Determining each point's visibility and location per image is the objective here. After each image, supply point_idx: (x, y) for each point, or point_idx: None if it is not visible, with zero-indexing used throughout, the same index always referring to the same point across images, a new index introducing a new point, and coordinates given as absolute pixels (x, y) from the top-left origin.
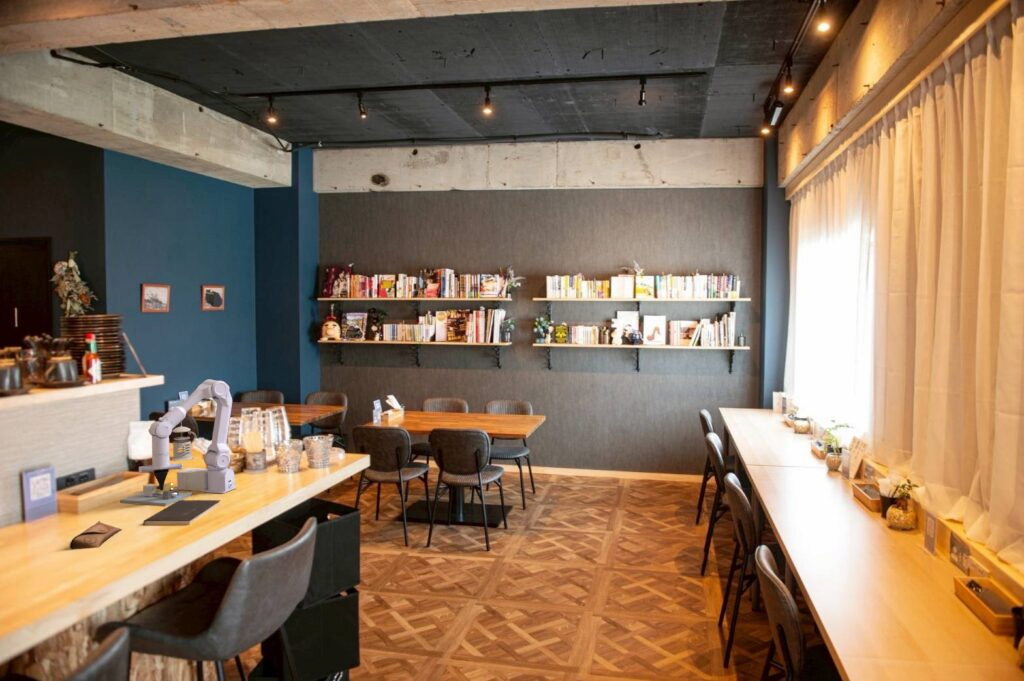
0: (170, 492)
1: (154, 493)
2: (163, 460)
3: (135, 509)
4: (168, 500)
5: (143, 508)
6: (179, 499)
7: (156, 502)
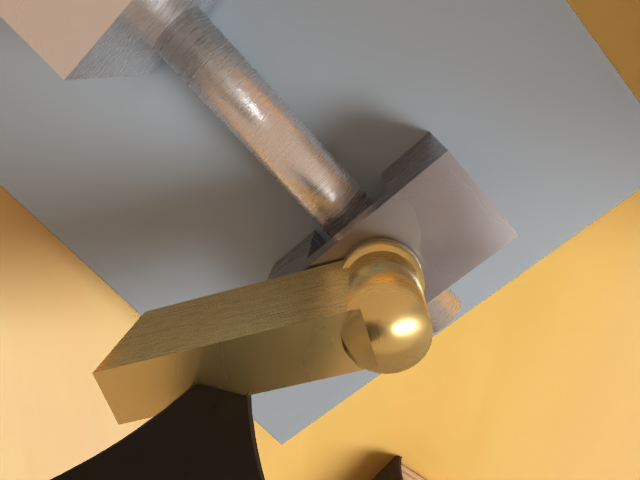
0: None
1: (165, 59)
2: None
3: (6, 370)
4: None
5: (78, 381)
6: None
7: None
